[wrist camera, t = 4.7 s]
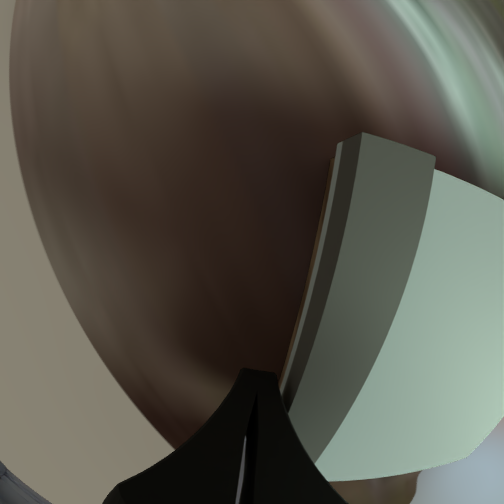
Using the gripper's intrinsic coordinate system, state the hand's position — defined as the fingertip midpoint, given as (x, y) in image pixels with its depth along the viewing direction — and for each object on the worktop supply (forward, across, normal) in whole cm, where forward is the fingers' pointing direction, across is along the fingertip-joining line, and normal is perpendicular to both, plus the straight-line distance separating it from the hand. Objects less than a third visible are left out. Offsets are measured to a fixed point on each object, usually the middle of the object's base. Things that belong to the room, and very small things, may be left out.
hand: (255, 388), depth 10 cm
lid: (+1, -10, 0) cm, 10 cm away
